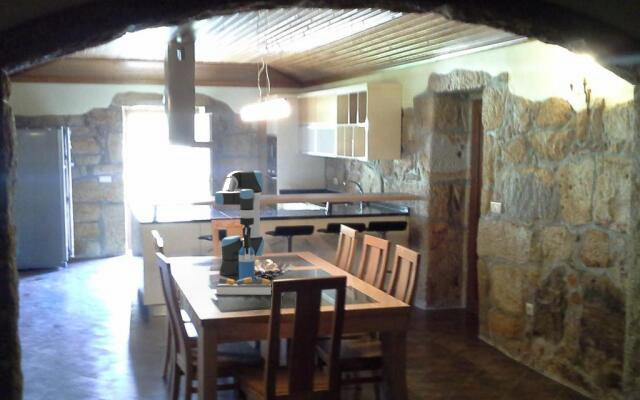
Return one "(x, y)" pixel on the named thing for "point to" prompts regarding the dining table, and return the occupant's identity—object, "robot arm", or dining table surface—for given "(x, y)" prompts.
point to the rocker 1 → (226, 280)
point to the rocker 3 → (262, 280)
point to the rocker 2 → (244, 280)
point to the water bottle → (246, 264)
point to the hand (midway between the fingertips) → (247, 259)
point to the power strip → (244, 288)
